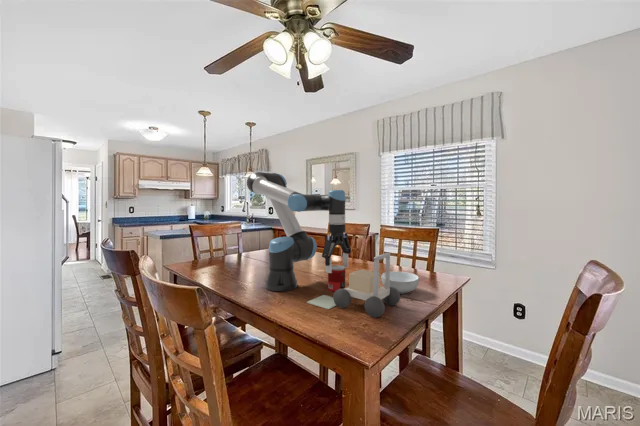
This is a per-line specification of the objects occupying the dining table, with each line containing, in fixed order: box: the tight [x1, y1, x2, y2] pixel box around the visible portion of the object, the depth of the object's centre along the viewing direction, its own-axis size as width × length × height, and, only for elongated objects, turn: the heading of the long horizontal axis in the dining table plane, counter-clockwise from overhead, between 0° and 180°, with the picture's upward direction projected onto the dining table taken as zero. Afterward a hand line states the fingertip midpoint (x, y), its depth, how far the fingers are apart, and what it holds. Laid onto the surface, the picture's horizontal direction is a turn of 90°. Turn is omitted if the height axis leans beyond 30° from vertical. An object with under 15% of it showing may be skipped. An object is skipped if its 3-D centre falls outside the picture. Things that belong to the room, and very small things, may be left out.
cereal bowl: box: [380, 270, 420, 295], centre depth 128 cm, size 17×17×7 cm
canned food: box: [327, 264, 346, 294], centre depth 128 cm, size 8×8×11 cm
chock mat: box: [306, 294, 338, 310], centre depth 114 cm, size 11×11×1 cm
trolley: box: [332, 252, 401, 319], centre depth 109 cm, size 21×16×21 cm
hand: (337, 269), depth 128 cm, fingers open, 13 cm apart
